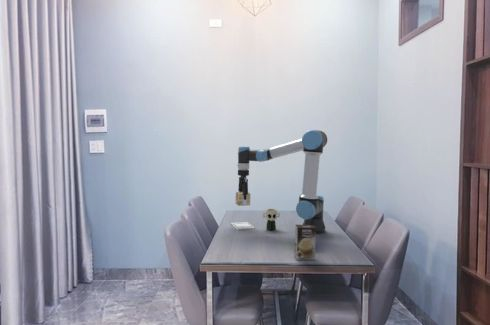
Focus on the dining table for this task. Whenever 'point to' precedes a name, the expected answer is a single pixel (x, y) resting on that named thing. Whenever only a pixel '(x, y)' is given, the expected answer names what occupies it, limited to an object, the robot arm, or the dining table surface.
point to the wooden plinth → (240, 199)
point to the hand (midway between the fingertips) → (242, 203)
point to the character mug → (271, 218)
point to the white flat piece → (243, 225)
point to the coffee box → (305, 242)
